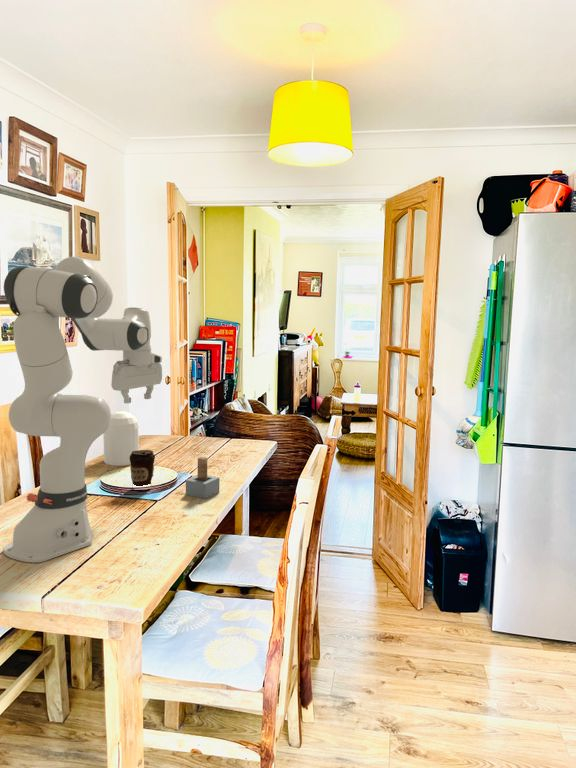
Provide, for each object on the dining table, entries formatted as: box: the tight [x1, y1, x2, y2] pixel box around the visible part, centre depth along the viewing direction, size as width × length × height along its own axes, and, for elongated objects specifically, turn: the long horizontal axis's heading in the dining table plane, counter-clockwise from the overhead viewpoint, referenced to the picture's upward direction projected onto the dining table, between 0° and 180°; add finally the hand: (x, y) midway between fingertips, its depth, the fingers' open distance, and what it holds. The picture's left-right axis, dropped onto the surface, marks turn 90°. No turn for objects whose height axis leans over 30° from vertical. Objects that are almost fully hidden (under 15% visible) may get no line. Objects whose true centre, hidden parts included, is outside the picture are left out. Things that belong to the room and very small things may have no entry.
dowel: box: [197, 456, 208, 482], centre depth 194 cm, size 3×3×12 cm
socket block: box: [185, 474, 220, 499], centre depth 195 cm, size 8×8×5 cm
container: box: [103, 410, 140, 467], centre depth 229 cm, size 14×13×20 cm
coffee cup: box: [130, 449, 156, 486], centre depth 197 cm, size 9×8×13 cm
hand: (137, 401), depth 189 cm, fingers open, 8 cm apart
